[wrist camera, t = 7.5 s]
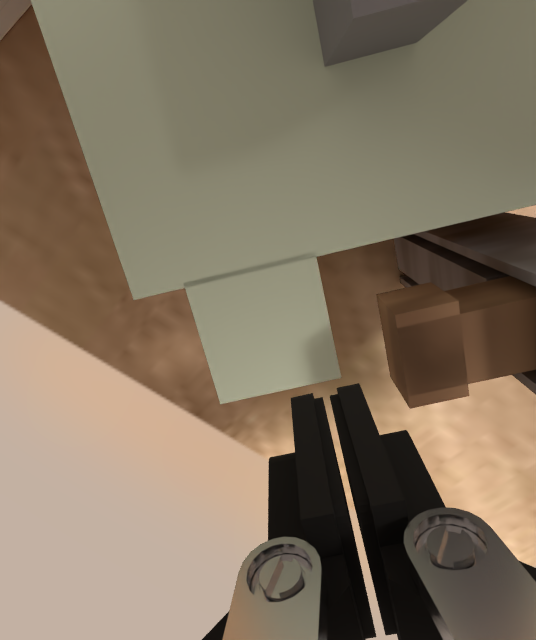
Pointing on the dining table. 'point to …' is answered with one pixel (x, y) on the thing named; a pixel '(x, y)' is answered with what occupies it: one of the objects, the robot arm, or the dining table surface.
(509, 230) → the brown wooden box
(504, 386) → the dining table surface
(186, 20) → the lid
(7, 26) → the supplement box
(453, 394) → the brown wooden bar
